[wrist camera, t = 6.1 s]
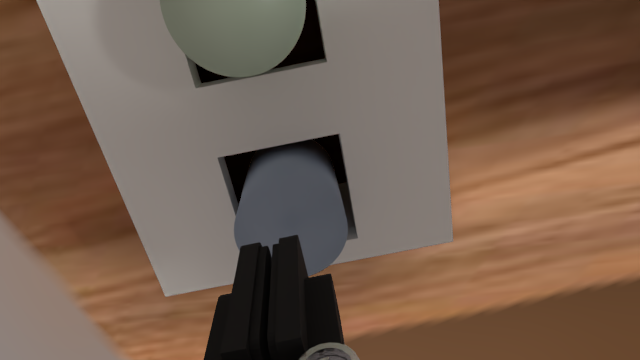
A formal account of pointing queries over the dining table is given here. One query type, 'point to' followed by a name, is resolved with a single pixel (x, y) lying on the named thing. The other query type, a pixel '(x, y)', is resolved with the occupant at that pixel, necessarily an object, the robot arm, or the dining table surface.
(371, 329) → the dining table surface
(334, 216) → the slate button
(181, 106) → the console
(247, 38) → the sage button
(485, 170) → the dining table surface
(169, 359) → the dining table surface
